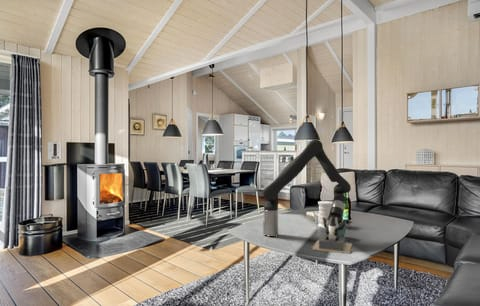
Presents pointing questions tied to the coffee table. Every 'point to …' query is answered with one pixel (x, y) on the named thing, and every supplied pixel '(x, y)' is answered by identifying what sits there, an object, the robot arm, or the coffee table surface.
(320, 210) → the decorative container
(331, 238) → the plug
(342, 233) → the flower pot
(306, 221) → the coffee table surface
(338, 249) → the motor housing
